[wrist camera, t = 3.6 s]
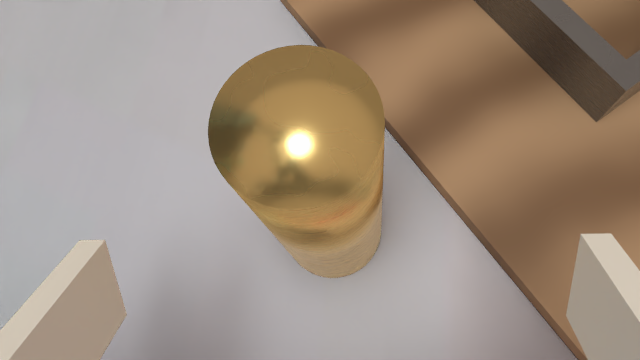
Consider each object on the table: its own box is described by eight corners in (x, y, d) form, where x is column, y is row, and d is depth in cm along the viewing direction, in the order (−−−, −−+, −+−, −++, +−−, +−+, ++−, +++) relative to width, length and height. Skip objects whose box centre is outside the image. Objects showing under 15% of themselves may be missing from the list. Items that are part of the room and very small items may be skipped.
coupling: (267, 219, 25) (176, 108, 14) (344, 166, 25) (317, 15, 14) (321, 297, 24) (269, 246, 12) (400, 240, 24) (421, 138, 13)
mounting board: (280, 0, 29) (277, -12, 28) (578, -193, 31) (585, -210, 30) (607, 394, 21) (618, 396, 20) (972, 103, 23) (997, 93, 22)
